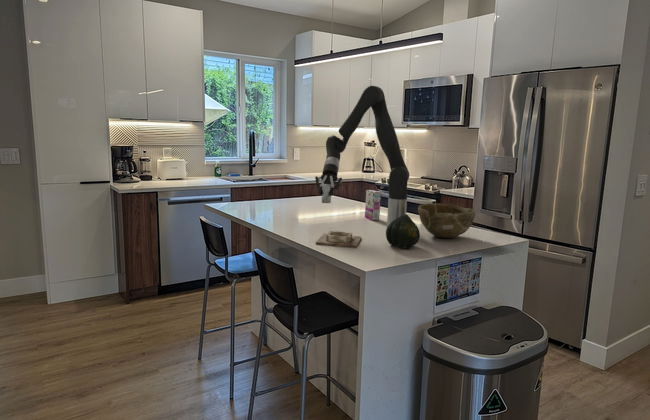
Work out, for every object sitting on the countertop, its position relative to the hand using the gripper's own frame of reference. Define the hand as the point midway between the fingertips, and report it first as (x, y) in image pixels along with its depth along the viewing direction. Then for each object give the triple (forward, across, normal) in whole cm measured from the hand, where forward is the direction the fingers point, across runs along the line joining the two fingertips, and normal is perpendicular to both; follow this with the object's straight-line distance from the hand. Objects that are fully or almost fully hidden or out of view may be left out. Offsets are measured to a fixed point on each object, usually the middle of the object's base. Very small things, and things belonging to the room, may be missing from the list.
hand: (325, 194), depth 216 cm
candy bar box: (-19, +18, +47) cm, 54 cm away
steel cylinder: (+2, 0, +4) cm, 5 cm away
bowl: (+5, +58, +23) cm, 62 cm away
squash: (+23, +38, +5) cm, 45 cm away
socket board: (+24, +10, +4) cm, 26 cm away
